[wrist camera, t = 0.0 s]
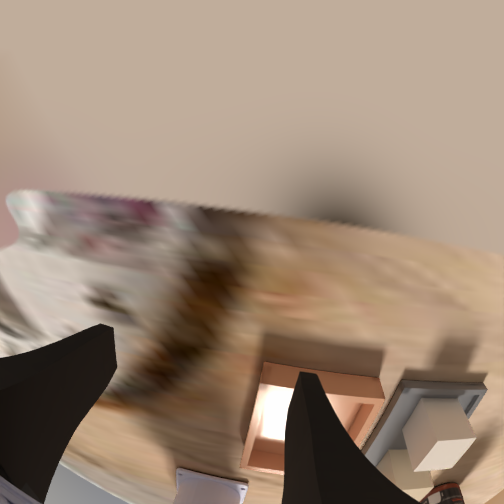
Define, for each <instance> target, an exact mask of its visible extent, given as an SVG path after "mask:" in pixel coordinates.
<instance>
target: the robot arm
mask: <svg viewBox="0 0 504 504" xmlns="http://www.w3.org/2000/svg"><path fill="white" fill-rule="evenodd" d="M116 369H117V361H116V352H115V341H114V328H113V327H110V326H107V325H104V324H98V325H95V326H93V327H90V328H88V329H85V330H83V331H81V332H78V333H76V334H74V335H71V336H69V337H67V338H64V339H62V340H60V341H57V342H55V343H52V344H49V345H47V346H44V347H41V348H38V349H36V350H32V351H29V352H26V353H22V354H18V355H14V356H9V357H3V358H0V504H44V501H45V498H46V495H47V492H48V489H49V486H50V483H51V480H52V477H53V475H54V473H55V470H56V468H57V466H58V463H59V461H60V459H61V457H62V455H63V453H64V451H65V449H66V447H67V445H68V443H69V441H70V439H71V437H72V435H73V434H74V432H75V430H76V429H77V427H78V425H79V424H80V422H81V421H82V420H83V418H84V417H85V416H86V414H87V413H88V412H89V410H90V409H91V408H92V406H93V405H94V404H95V402H96V401H97V400H98V398H99V397H100V396H101V394H102V393H103V391H104V390H105V389H106V387H107V386H108V384H109V382H110V380H111V379H112V377H113V375H114V373H115V371H116ZM176 482H177V494H176V497H175V499H174V502H173V504H243V501H244V498H245V495H246V492H247V490H248V486H249V485H248V484H247V483H244V482H239V481H234V480H229V479H224V478H219V477H215V476H210V475H206V474H202V473H198V472H194V471H190V470H186V469H183V468H177V470H176ZM282 504H422V503H420V502H419V501H417V500H416V499H414V498H413V497H411V496H410V495H408V494H407V493H405V492H404V491H402V490H401V489H400V488H398V487H397V486H396V485H395V484H393V483H392V482H391V481H390V480H389V479H387V478H386V477H385V476H384V475H383V474H382V473H381V472H380V471H379V470H378V469H377V468H376V467H375V466H374V465H373V464H372V463H371V462H370V461H369V460H368V459H367V458H366V456H365V455H364V454H363V453H362V452H361V450H360V449H359V448H358V447H357V445H356V444H355V443H354V441H353V440H352V438H351V437H350V435H349V434H348V432H347V431H346V429H345V428H344V426H343V425H342V423H341V421H340V420H339V418H338V416H337V414H336V413H335V411H334V409H333V407H332V405H331V403H330V401H329V399H328V397H327V395H326V393H325V391H324V389H323V386H322V384H321V382H320V379H319V377H318V375H317V374H316V373H309V372H303V371H300V372H299V375H298V378H297V382H296V385H295V388H294V391H293V394H292V397H291V400H290V404H289V407H288V410H287V418H286V425H285V442H284V489H283V497H282Z"/></svg>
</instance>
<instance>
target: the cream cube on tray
mask: <svg viewBox="0 0 504 504" xmlns="http://www.w3.org/2000/svg"><path fill="white" fill-rule="evenodd" d="M402 431H403V435H404V439H405V442H406V446H407V450H408V453H409V457H410V461H411V465H412V469H413V472H418V471H431V470H441V469H449V468H452V467H453V466H454V465H455V464H456V463H457V461H458V460H459V459H460V458H461V457H462V455H463V454H464V453H465V452H466V451H467V449H468V448H469V447H470V446H471V444H472V443H473V442H474V441H475V439H476V438H477V437H476V435H475V433H474V431H473V429H472V427H471V425H470V423H469V420H468V418H467V416H466V414H465V412H464V410H463V408H462V406H461V404H460V402H459V400H458V398H457V399H449V398H421V399H420V401H419V403H418V404H417V406H416V408H415V410H414V411H413V413H412V415H411V416H410V418H409V419H408V421H407V423H406V424H405V426H404V427H403V429H402Z"/></svg>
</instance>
